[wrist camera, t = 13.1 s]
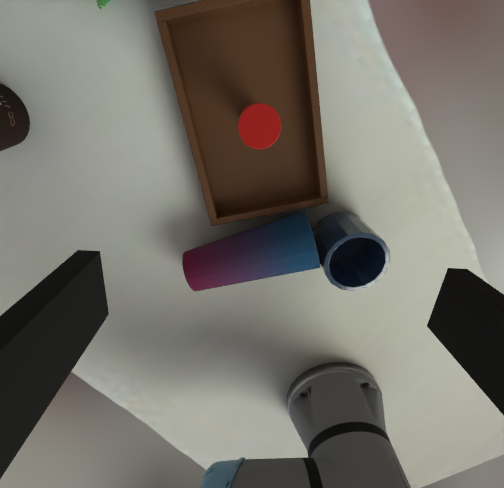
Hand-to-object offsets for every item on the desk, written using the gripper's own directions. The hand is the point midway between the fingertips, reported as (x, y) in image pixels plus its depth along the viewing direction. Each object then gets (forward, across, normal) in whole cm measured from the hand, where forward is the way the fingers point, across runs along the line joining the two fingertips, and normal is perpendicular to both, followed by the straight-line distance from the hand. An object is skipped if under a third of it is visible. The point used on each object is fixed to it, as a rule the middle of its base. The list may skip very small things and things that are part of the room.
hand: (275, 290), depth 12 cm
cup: (+23, +7, +12) cm, 27 cm away
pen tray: (+26, +1, -6) cm, 26 cm away
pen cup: (+26, -12, +8) cm, 29 cm away
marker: (+25, +1, -6) cm, 26 cm away
